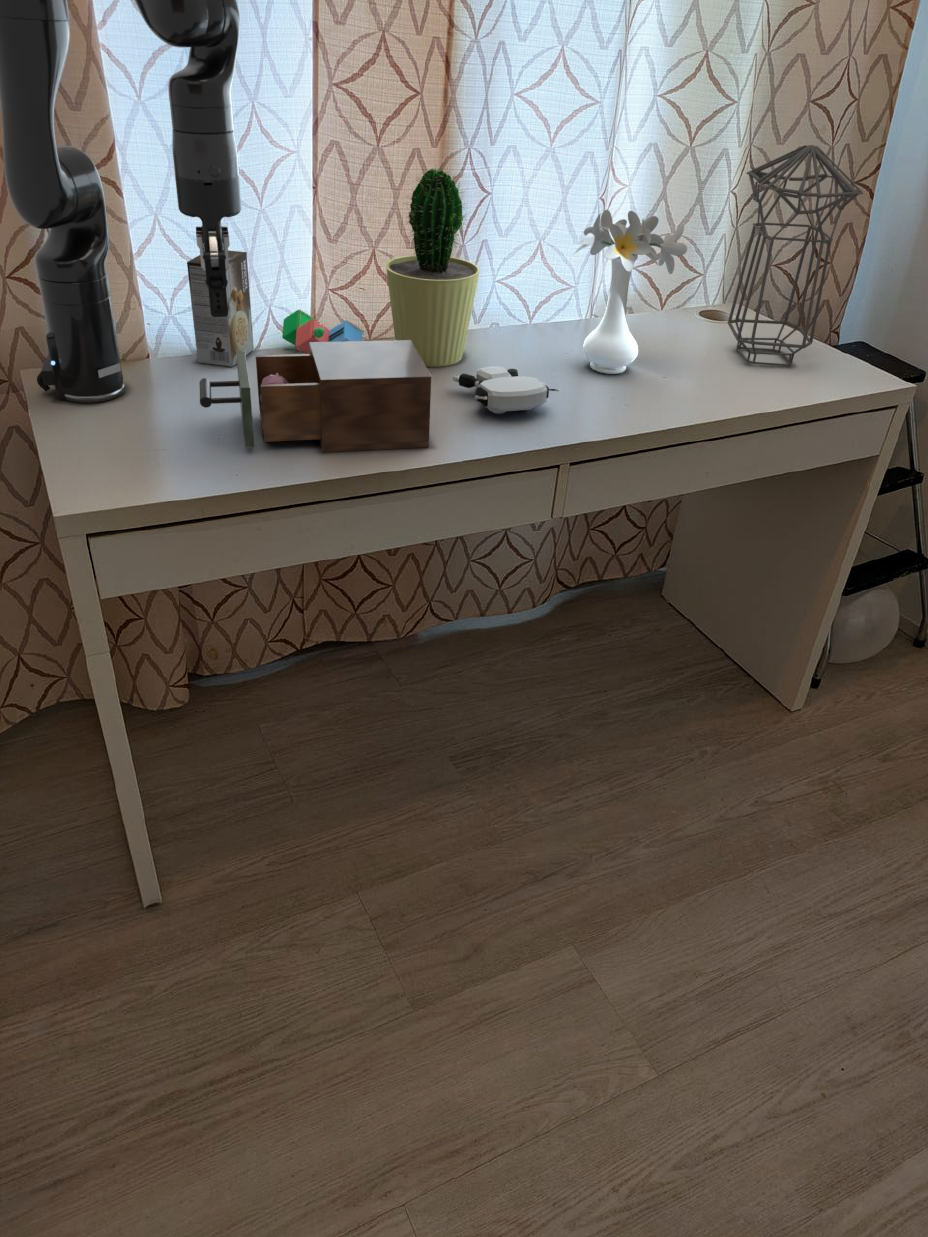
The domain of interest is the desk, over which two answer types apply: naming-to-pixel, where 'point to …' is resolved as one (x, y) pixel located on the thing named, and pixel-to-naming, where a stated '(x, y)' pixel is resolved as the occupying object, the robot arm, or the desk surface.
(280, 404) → the drawer
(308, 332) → the building blocks
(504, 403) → the robot toy
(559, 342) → the desk surface
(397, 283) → the potted cactus
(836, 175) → the geometric lantern
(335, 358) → the cabinet
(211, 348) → the coffee box
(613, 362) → the flower vase
